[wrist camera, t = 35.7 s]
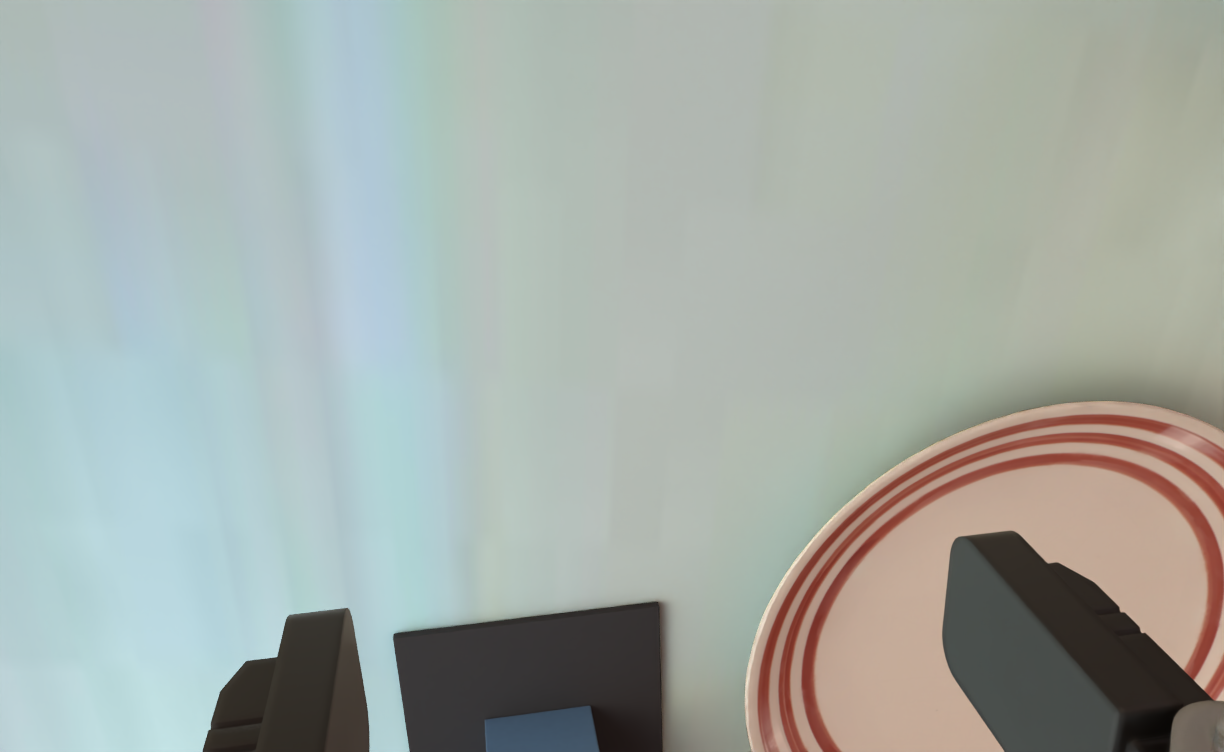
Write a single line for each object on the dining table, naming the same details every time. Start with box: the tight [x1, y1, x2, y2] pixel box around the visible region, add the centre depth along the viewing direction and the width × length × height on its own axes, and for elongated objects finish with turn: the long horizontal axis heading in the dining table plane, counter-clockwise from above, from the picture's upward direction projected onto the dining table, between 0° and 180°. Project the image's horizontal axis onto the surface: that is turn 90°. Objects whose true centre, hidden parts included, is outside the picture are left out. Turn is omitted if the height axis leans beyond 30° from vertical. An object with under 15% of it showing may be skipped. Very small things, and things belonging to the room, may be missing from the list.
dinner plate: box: [745, 401, 1224, 752], centre depth 50 cm, size 27×27×3 cm
